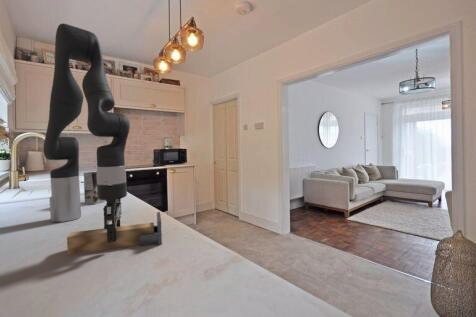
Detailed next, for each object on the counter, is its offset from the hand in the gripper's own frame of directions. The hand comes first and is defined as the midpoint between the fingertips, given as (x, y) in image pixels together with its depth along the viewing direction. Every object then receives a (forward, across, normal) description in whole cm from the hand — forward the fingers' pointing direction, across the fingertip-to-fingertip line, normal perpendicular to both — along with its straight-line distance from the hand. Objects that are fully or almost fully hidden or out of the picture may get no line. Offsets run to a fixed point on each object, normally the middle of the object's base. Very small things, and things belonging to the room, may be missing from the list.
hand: (114, 236), depth 68 cm
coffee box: (+3, -64, -17) cm, 66 cm away
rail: (+3, 0, 0) cm, 3 cm away
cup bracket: (+3, 0, +10) cm, 10 cm away
